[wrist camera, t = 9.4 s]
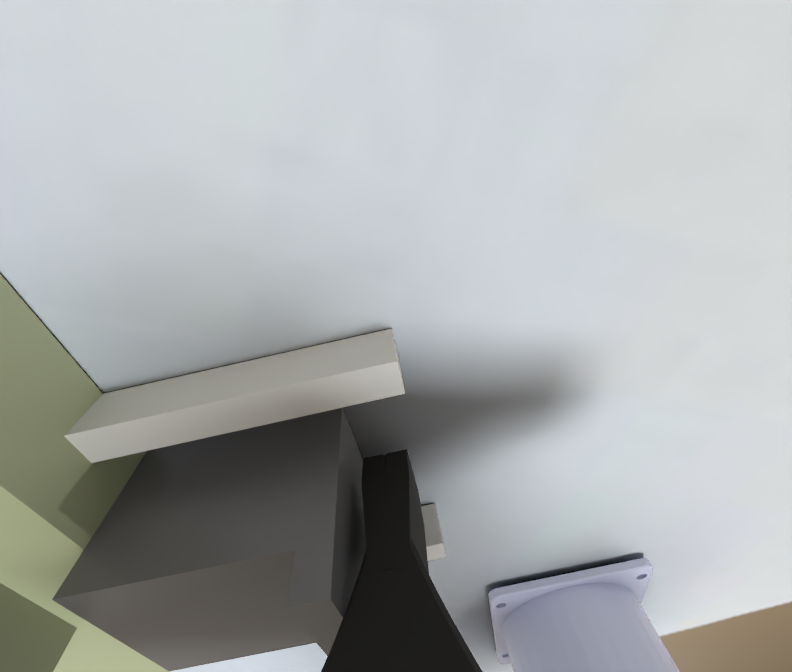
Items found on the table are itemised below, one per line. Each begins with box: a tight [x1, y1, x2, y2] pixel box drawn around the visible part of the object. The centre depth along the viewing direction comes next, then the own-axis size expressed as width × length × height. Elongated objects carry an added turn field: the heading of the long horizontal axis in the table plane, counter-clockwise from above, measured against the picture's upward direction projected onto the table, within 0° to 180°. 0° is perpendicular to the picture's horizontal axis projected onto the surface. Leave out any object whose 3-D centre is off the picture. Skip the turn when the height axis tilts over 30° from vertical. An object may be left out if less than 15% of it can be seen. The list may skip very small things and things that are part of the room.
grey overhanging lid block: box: [52, 408, 366, 671], centre depth 10 cm, size 4×6×5 cm
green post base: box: [0, 274, 446, 672], centre depth 8 cm, size 14×16×6 cm
